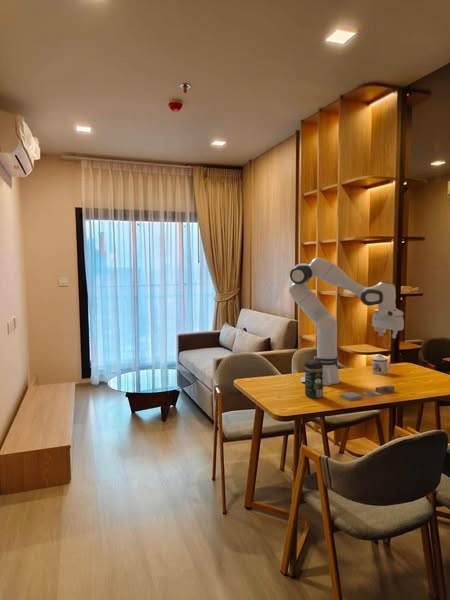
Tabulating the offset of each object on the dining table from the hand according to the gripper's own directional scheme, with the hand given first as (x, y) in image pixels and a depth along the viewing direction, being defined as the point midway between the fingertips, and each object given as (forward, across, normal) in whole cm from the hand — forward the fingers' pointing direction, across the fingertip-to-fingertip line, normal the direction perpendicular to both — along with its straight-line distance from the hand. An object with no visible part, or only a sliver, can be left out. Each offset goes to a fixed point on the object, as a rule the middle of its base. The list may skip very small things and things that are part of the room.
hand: (387, 337), depth 220 cm
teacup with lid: (+27, -24, +18) cm, 41 cm away
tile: (+26, +8, -26) cm, 38 cm away
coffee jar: (+27, -2, -45) cm, 53 cm away
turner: (+27, +8, -13) cm, 31 cm away
